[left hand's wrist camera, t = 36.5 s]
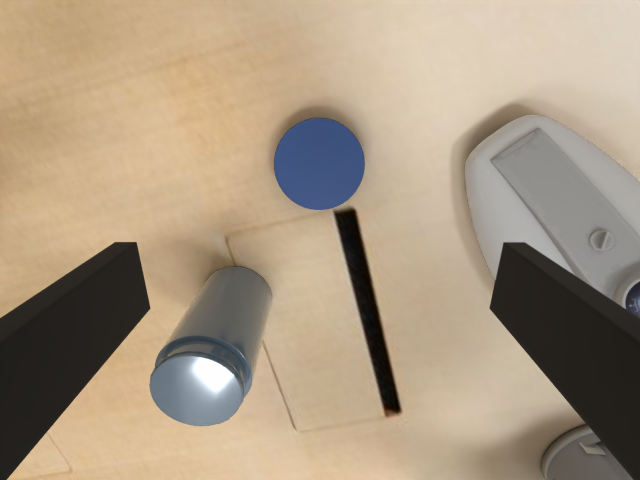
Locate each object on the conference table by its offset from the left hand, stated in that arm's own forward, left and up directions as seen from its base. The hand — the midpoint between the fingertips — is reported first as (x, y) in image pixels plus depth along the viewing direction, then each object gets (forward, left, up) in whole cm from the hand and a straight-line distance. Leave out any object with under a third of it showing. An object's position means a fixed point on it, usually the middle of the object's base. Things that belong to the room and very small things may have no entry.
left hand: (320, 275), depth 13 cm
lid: (0, 0, -24) cm, 24 cm away
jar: (+3, +19, -26) cm, 32 cm away
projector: (-25, -4, -26) cm, 36 cm away
